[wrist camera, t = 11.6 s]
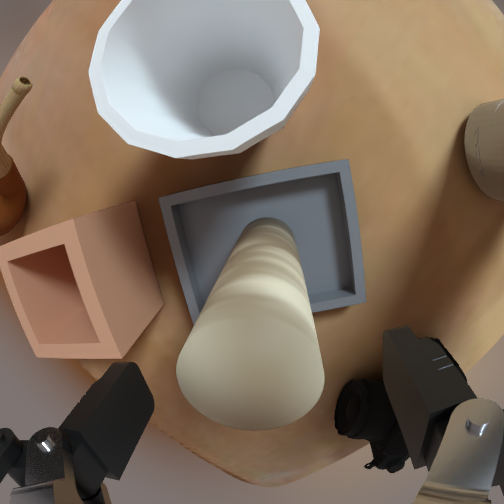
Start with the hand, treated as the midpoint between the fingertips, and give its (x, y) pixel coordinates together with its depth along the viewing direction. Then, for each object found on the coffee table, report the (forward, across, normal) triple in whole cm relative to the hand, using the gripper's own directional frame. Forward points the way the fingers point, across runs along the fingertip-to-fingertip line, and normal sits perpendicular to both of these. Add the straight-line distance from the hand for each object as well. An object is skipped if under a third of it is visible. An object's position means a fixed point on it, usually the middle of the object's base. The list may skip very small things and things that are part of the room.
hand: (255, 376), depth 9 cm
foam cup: (+16, 0, -12) cm, 20 cm away
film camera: (+17, -9, +18) cm, 26 cm away
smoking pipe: (+16, +21, -13) cm, 30 cm away
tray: (+16, 0, 0) cm, 16 cm away
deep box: (+16, +15, -1) cm, 22 cm away
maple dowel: (+15, 0, 0) cm, 16 cm away
